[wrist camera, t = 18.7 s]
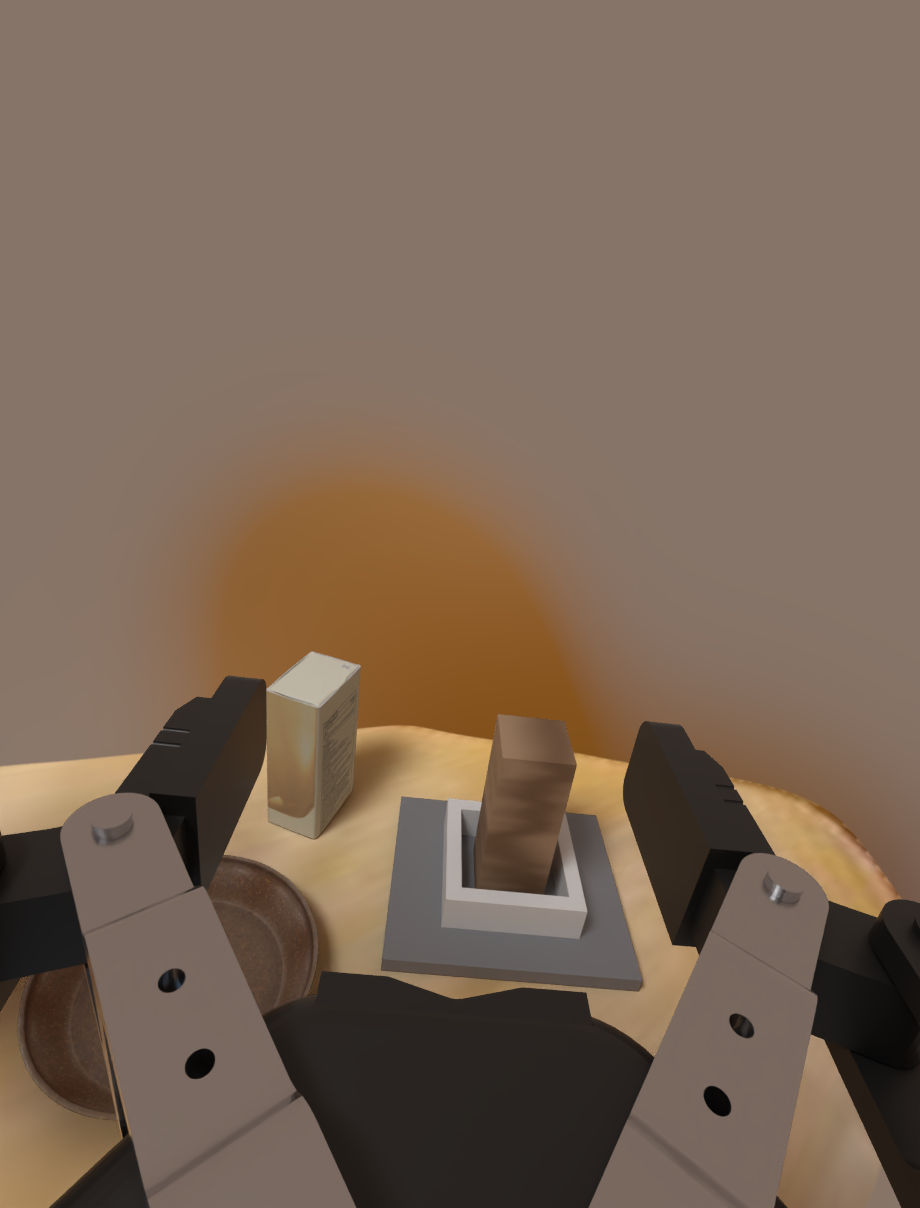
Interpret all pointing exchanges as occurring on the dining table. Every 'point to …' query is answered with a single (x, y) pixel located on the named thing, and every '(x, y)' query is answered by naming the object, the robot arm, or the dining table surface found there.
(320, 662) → the skincare box
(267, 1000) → the saucer
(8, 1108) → the dining table surface
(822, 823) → the dining table surface
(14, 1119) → the dining table surface
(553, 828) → the walnut square peg
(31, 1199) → the dining table surface
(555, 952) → the collar holder
